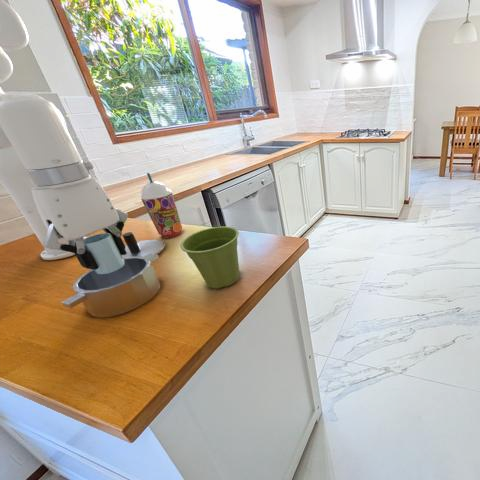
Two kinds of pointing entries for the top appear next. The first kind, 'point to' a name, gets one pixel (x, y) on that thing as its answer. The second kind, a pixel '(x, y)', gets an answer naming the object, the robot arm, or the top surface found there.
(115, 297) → the silver cooking pot
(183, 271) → the top surface
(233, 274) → the plant pot
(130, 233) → the lid
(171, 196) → the smoothie
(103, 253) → the measuring cup
